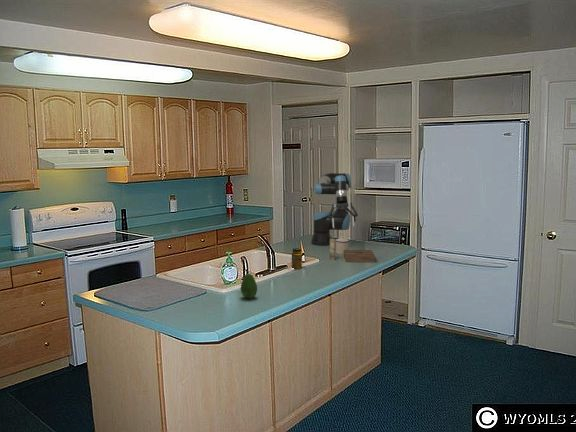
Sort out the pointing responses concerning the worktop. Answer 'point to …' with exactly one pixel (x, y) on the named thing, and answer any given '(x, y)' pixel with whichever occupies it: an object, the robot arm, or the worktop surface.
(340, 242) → the teacup with lid
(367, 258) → the walnut hole block
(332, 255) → the birch pin
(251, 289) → the avocado
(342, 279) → the worktop surface
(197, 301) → the worktop surface
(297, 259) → the condiment
